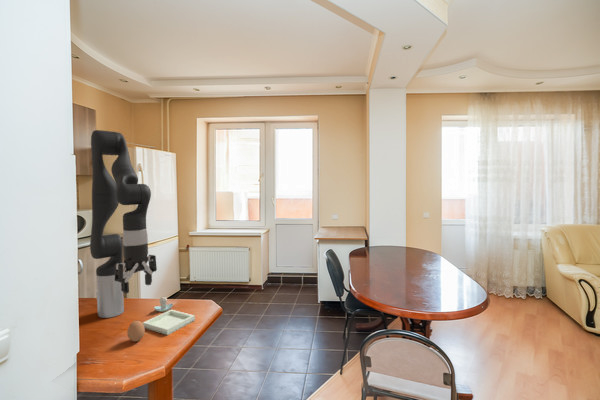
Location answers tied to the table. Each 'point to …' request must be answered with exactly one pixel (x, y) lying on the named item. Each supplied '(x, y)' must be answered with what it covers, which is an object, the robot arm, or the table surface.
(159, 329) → the dish
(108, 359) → the table surface
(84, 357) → the table surface
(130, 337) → the egg
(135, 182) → the robot arm
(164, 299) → the pacifier
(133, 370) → the table surface
